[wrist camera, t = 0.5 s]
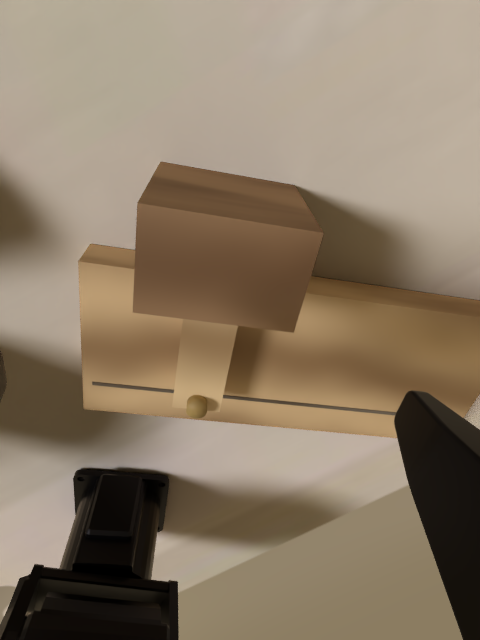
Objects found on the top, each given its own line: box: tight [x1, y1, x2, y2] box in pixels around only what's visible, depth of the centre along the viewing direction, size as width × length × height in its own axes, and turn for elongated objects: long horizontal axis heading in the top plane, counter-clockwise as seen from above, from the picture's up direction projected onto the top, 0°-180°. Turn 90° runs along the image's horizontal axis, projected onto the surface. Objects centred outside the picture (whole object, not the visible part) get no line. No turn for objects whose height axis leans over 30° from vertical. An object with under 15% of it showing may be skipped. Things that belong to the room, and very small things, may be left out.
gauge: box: [133, 162, 324, 419], centre depth 18 cm, size 11×6×6 cm, turn 170°
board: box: [78, 244, 480, 438], centre depth 22 cm, size 9×22×2 cm, turn 80°
